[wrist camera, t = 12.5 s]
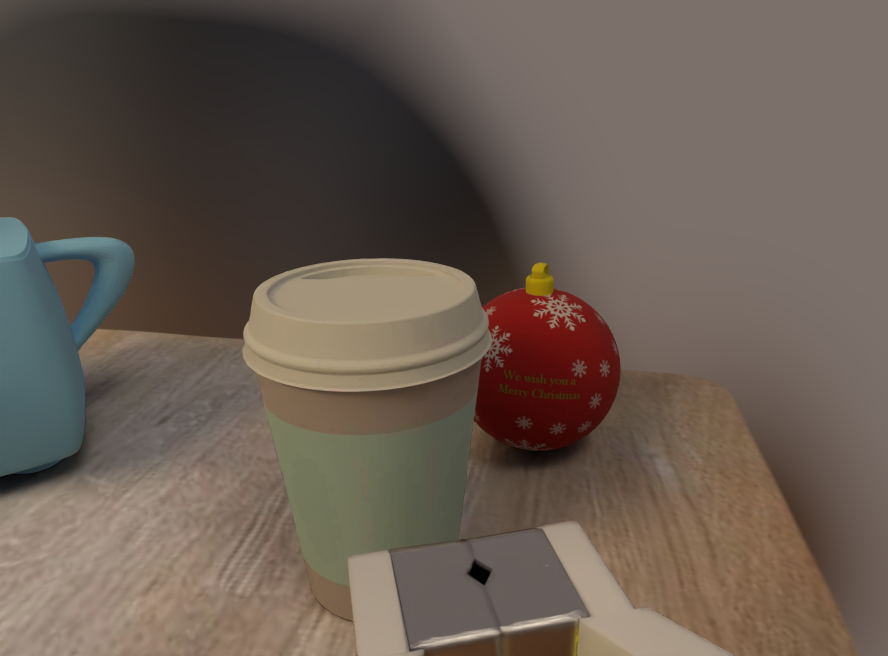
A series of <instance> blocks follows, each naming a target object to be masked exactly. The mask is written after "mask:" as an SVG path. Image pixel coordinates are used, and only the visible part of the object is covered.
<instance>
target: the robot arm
mask: <svg viewBox="0 0 888 656" xmlns="http://www.w3.org/2000/svg"><path fill="white" fill-rule="evenodd" d="M348 571H349V583H350V594H351V605H352V616H353V627H354V639H355V650H356V656H735V655H733V654H732V653H730V652H728V651H726V650H724V649H722V648H721V647H719V646H717V645H715V644H713V643H712V642H710V641H708V640H706V639H704V638H703V637H701V636H699V635H697V634H695V633H693V632H692V631H690V630H688V629H686V628H684V627H683V626H681V625H679V624H677V623H675V622H674V621H672V620H670V619H668V618H666V617H664V616H663V615H661V614H659V613H657V612H655V611H654V610H652V609H650V608H648V607H643V608H637V609H635V607H634V606H633V604H632V603H631V601H630V600H629V598H628V597H627V595H626V594H625V592H624V591H623V589H622V588H621V586H620V585H619V583H618V581H617V580H616V578H615V577H614V575H613V574H612V572H611V571H610V569H609V568H608V566H607V565H606V563H605V562H604V560H603V559H602V557H601V556H600V554H599V553H598V551H597V550H596V548H595V547H594V545H593V544H592V542H591V541H590V539H589V538H588V536H587V535H586V533H585V532H584V530H583V529H582V527H581V526H580V524H579V523H577V522H576V521H574V520H569V521H564V522H558V523H553V524H547V525H542V526H537V528H530V529H524V530H518V531H512V532H506V533H500V534H494V535H488V536H482V537H476V538H470V539H462V540H454V541H447V542H439V543H432V544H424V545H417V546H410V547H402V548H395V549H389V553H388V551H387V550H384V551H377V552H370V553H363V554H356V555H349V556H348Z"/></svg>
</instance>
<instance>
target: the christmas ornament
mask: <svg viewBox="0 0 888 656" xmlns="http://www.w3.org/2000/svg"><path fill="white" fill-rule="evenodd" d="M548 270H549V266H548V265H547V264H546V263H536V264H535V265H534V266H533V269H532V274H531V275H529V276H528V277H527V278H526V288H521V289H516V290H513V291H510V292H507V293H505V294H503V295H501V296H498V297H497V298H495V299H493V300H492V301H490V302H489V303H487V304H486V305H485V306H484V307H483V309H484V311H485V312H486V314H487V316H488V320H489V325H488V329H489V331H490V333H491V337H492V342H491V346H490V348H489V350H488V351H487V352H486V354H485V355H484V356H483V357H482V359H481V367H480V375H479V383H478V391H477V399H476V407H475V415H474V421H475V422H476V423H477V424H478V425H479V426H480V427H481V428H482V429H483V430H484V431H485V432H487V433H488V434H489V435H491V436H492V437H494V438H495V439H497V440H499V441H500V442H503V443H505V444H507V445H510V446H512V447H516V448H520V449H525V450H534V451H544V450H553V449H558V448H561V447H565V446H568V445H570V444H572V443H574V442H577V441H578V440H580V439H582V438H583V437H585V436H586V435H588V434H589V433H590V432H591V431H593V430H594V429H595V428H596V427H597V426H598V425H599V424H600V423H601V421H602V420H603V419H604V418H605V416H606V415H607V413H608V412H609V410H610V408H611V406H612V404H613V402H614V400H615V397H616V394H617V391H618V387H619V381H620V358H619V353H618V348H617V345H616V342H615V339H614V337H613V335H612V333H611V331H610V329H609V327H608V325H607V324H606V323H605V321H604V320H603V318H602V317H601V316H600V315H599V314H598V313H597V312H596V311H595V310H594V309H593V308H592V307H591V306H590V305H588V304H587V303H586V302H584V301H583V300H581V299H580V298H578V297H576V296H574V295H572V294H569V293H567V292H564V291H561V290H558V289H553V286H554V279H553V277H552V276H551V275H548Z"/></svg>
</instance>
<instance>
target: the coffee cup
mask: <svg viewBox="0 0 888 656" xmlns="http://www.w3.org/2000/svg"><path fill="white" fill-rule="evenodd" d="M488 325H489V320H488V316H487V314H486V312H485V311H484V309H483V308H482V307H481V303H480V300H479V296H478V292H477V289H476V285H475V283H474V281H473V280H472V279H471V277H469V276H468V275H467V274H465V273H464V272H462V271H459V270H457V269H454V268H451V267H449V266H445V265H440V264H436V263H431V262H424V261H417V260H406V259H385V258H384V259H355V260H343V261H335V262H328V263H321V264H315V265H310V266H306V267H302V268H297V269H294V270H291V271H287V272H285V273H282V274H279V275H277V276H274V277H272V278H270V279H268V280H267V281H265V282H264V283H262V284H261V285H260V286H259V287H258V288H257V289H256V291H255V292H254V295H253V301H252V307H251V314H250V320H249V321H248V322H247V324H246V326H245V328H244V333H243V334H244V340H245V343H244V346H243V350H242V355H243V358H244V360H245V362H246V364H247V365H248V366H249V367H250V368H251V369H252V370H254V371H255V372H256V373H257V377H258V381H259V385H260V389H261V393H262V397H263V402H264V406H265V410H266V413H267V417H268V421H269V425H270V429H271V433H272V437H273V441H274V445H275V449H276V453H277V457H278V461H279V465H280V469H281V473H282V476H283V480H284V484H285V488H286V492H287V496H288V500H289V504H290V508H291V512H292V516H293V520H294V524H295V528H296V532H297V535H298V539H299V543H300V547H301V551H302V555H303V559H304V562H305V566H306V570H307V574H308V578H309V581H310V585H311V589H312V591H313V594H314V595H315V597H316V599H317V600H318V601H319V603H320V604H321V605H322V606H324V607H325V608H326V609H327V610H329V611H330V612H332V613H333V614H335V615H337V616H339V617H342V618H344V619H347V620H351V621H353V616H352V605H351V594H350V583H349V571H348V556H349V555H356V554H363V553H370V552H377V551H384V550H387V551H388V553H389V549H395V548H402V547H410V546H417V545H424V544H432V543H439V542H447V541H454V540H458V538H459V531H460V523H461V515H462V508H463V500H464V492H465V484H466V477H467V469H468V461H469V453H470V446H471V438H472V430H473V422H474V415H475V407H476V399H477V391H478V383H479V375H480V367H481V359H482V357H483V356H484V355H485V354H486V352H487V351H488V350H489V348H490V346H491V342H492V337H491V333H490V331H489V329H488Z"/></svg>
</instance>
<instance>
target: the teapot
mask: <svg viewBox="0 0 888 656" xmlns="http://www.w3.org/2000/svg"><path fill="white" fill-rule="evenodd" d="M68 259H83V260H88V261H91V262H92V263H93V264H94V266H95V277H94V280H93V283H92V286H91V289H90V291H89V294H88V296H87V299H86V301H85V303H84V305H83V307H82V308H81V310H80V312H79V314H78V315H77V317H76V318H75V320H74V322H73V324H72V325H71V327H70V324H69V321H68V318H67V316H66V313H65V310H64V308H63V305H62V303H61V300H60V298H59V295H58V293H57V291H56V288H55V286H54V284H53V281H52V279H51V277H50V275H49V273H48V270H47V268H46V266H45V264H44V263H46V262H52V261H59V260H68ZM134 263H135V257H134V254H133V251H132V249H131V248H130V247H129V246H128V244H126V243H124V242H122V241H120V240H117V239H113V238H107V237H82V238H72V239H63V240H56V241H49V242H43V243H37V244H35V243H34V241H33V239H32V237H31V235H30V233H29V231H28V230H27V228H26V227H25V225H24V224H23V223H22V222H21V221H19V220H18V219H16V218H12V217H7V218H6V217H5V218H0V477H1V476H5V475H8V474H12V473H15V474H28V473H33V472H38V471H41V470H44V469H46V468H49V467H51V466H53V465H55V464H56V463H58V462H59V461H60V460H61V459H63V458H66V457H69V456H71V455H73V454H75V453H76V452H77V451H78V450H79V449H80V448H81V445H82V442H83V435H84V427H85V383H84V374H83V370H82V366H81V362H80V358H79V354H78V350H79V349H80V348H81V347H82V345H83V344H84V343H85V342H86V341H87V340H88V338H89V337H90V336H91V335H92V334H93V333H94V332H95V330H96V329H97V328H98V327H99V326H100V325H101V323H102V322H103V321H104V320H105V318H106V317H107V316H108V314H109V313H110V312H111V310H112V309H113V308H114V307H115V305H116V304H117V303H118V301H119V300H120V298H121V297H122V296H123V294H124V292H125V290H126V289H127V287H128V285H129V282H130V280H131V277H132V274H133V270H134Z"/></svg>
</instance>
